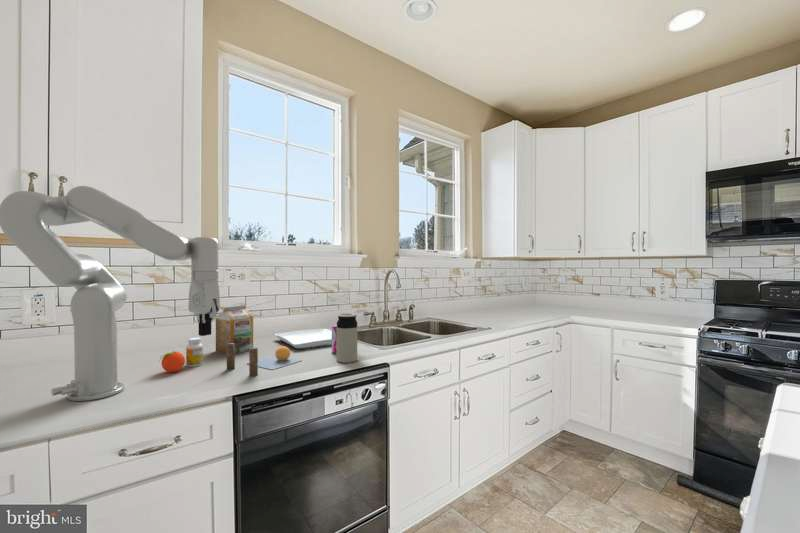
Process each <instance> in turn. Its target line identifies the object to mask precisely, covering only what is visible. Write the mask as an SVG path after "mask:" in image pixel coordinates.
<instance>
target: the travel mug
mask: <svg viewBox="0 0 800 533" xmlns="http://www.w3.org/2000/svg"><path fill="white" fill-rule="evenodd" d="M336 315H337V317H338V318H337V322H336V325H337V354H336V361H337V362H339V363H343V364H351V363H354V362H356V361H357V360H358V321H357V315H358V314H357V313H355V312H342V313H337V314H336Z"/></svg>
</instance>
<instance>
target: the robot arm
mask: <svg viewBox="0 0 800 533" xmlns="http://www.w3.org/2000/svg"><path fill="white" fill-rule="evenodd" d="M86 222H93V223H95V224H97V225H99V226H100V227H102V228H105V229H106V230H109V231H110V232H112V233H114V234H115V235H118V236H119V237H122V238H123V239H126V240H127V241H129V242H131V243H133V244H135V245H137V246H139V247H140V248H142V249H144V250H146V251H148V252H150V253H152V254H154V255H155V256H158V257H160V258H163V259H164V260H168V261H176V262H177V261H179V262H180V261H187V260H191V261H190V262H191V264H190V265H191V267H190V270H191V271H190V272H191V274H190V275H191V279H190V284H189V293H188V311H189V312H190V313H193V315H194V316H196V318H197V323H198V336H199V337H200V336H201V337H205V336H211V335H212V322H213V319H214V318H215V319H216V317H217V316H218V314H217V313H218V312H219V311H220V307H221V300H220V299H221V297H220V288H219V287H220V286H219V241H218V239H217V238H214V237H208V236H206V237H203V236H202V237H201V236H200V237H199V236H197V237H194V238H192V237H191V238H190V237H184V236H181V235H177V234H175V233H173V232H172V231H169V230H167V229H165V228H163V227H162V226H160V225H158V224H156V223H154V222H152V221H151V220H149V219H148V218H146V217H145V216H144V215H143V214H142V213H141V212H140V211H138V210H136V209H135V208H132V207H130V206H129V205H127V204H124V203H123V202H122V201H121V202H120V201H119V200H117V199H115V198H114V197H111V196H110V195H108V194H107V193H106V192H104V191H101V190H99V189H97V188H94V187H93V186H92V187H91V186H87V185H78V186H76V187H72V188H71V189H70V190H69V191H68V192H67V193H66V195H61V196H51V195H48V194H44V193H41V192H38V191H32V190H31V191H30V190H20V191H19V190H18V191H14V192H13V193H10V194H8V195H7V196H6V197H5V198H4V199H3V200H2V201H1V203H0V229H1V230H2V232H3V234H4V235H5V236H6V237H7V239H8V240H10V242H11V243H12V244H13V245H14V246H15V247H16V248H17V249H19V251H20V252H22V254H23V255H24V256H26V258H27V259H28V260H29V261H30V262H31V263H32V264H33V265H34V266H35V267H36V268H37V269H38V270H39V271H40V272H41V273H42V274H43V275H44V276H45V278H47V279H48V280H49V281H50V283H52V284H53V285H55V286H58V287H61V288H72V287H74V288H75V289H76V291H75V293H73V294H72V296H71V299H70V312H71V318H72V322H73V324H72V325H73V334H74V335H73V342H74V343H73V344H74V351H73V353H74V354H73V355H74V379H72V380H70V383H67V384H66V385H64V386H58V387H53V388H51V390H50V391H51V392H50V393H51V396H58V395H61V396H65V395H67V396H66V398H67V400H69V401H74V402H84V401H93V400H94V401H95V400H100V399H103V398H108V397H111V396H114V395H117V394H119V393H120V392H123V391H124V389H125V384H124V383H123V382H118V326H117V319H116V311H119V310H120V309H122V307H123V306H124V305H125V304H126V303H127V298H128V297H127V292H126V289H125V288H124V287H123V285H121V283H120V282H119V281H118V280H117V279H116V278H115V277H114V276H113V275H112V273H110V272H109V270H107V268H106V267H105V266H104V265H103V264H102V263H100V261H98V260H97V259H96V258H94V257H92V256H90V255H87V254H82V253H76V252H75V251H73V250H72V249H71V248H70V247H69V246H68V245H67V244H66V243H65V242H64V240H63V239H62V238H60V237H59V236H58V235H57V234H56V233H55V232H54V231H53V230H52V229H50V228H49V227H48V226H52V227H56V226H57V227H59V226H64V225H66V226H67V225H72V224H79V223H86Z"/></svg>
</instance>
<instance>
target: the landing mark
mask: <svg viewBox="0 0 800 533" xmlns="http://www.w3.org/2000/svg"><path fill="white" fill-rule="evenodd" d="M302 361H303V360H301V359H297V358H292V357H289V358H288V359H287V360H285V361H280V360H278V359H277V358H276V356H275V355H272V356H269V357H266V358H262V359H258V368H261V369H265V368H266V370H271V371H274V370H277V369H280V367H281V368H283V367H287V366H290V365H293V363H294V364H297V363H300V362H302ZM296 362H297V363H296ZM246 365H249V362H247V363H246Z"/></svg>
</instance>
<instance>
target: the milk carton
mask: <svg viewBox="0 0 800 533" xmlns="http://www.w3.org/2000/svg"><path fill="white" fill-rule="evenodd" d="M228 343H235V355H236V354H242V353H246V352H249V349H250V348H254V316H253V314H252V313H251V312H250V310H248V309H247V305H245V304H243V305H234V306H233V305H232V306H223V307H222V311H221V312H220V313H219V314H217V317H215V352H216V351H217V352H216V353H220V352H221V353H220V354H224V353H225V354H224V355H227V344H228ZM241 352H242V353H241Z"/></svg>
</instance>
